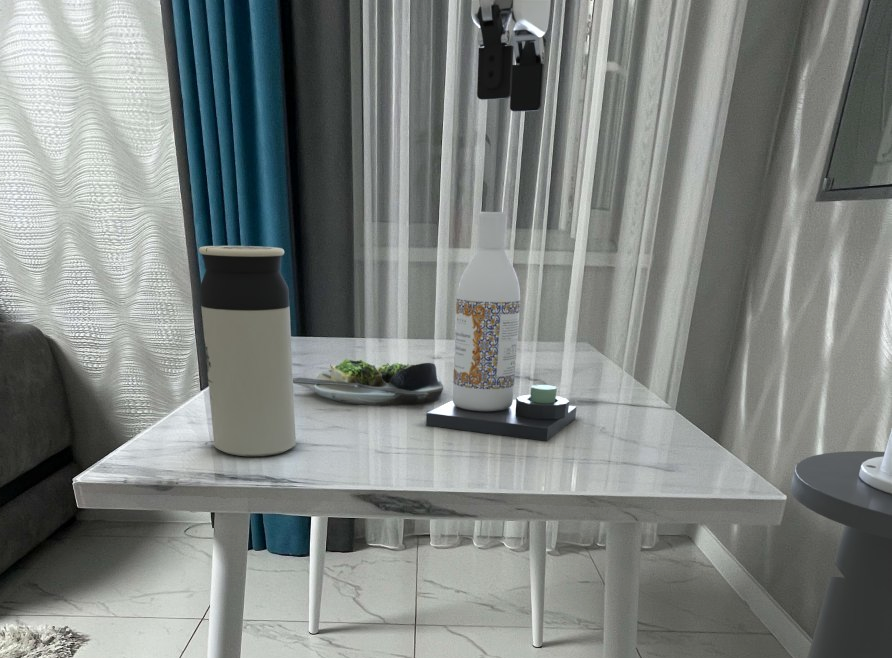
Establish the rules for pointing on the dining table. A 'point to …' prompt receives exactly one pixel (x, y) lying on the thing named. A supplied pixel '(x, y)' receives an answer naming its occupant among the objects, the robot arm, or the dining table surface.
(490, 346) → the bath foam
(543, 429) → the scale
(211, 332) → the travel mug
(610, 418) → the dining table surface
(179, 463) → the dining table surface
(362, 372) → the salad plate
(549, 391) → the button
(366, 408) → the dining table surface
